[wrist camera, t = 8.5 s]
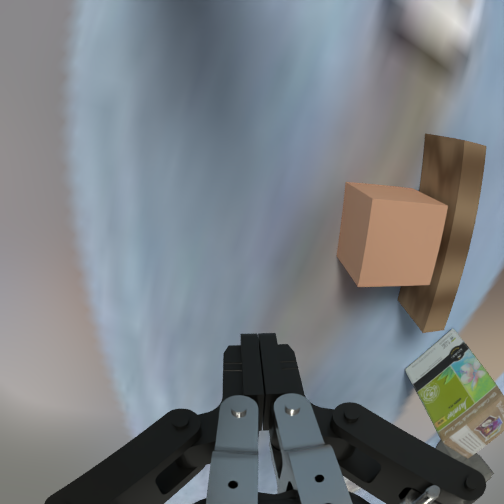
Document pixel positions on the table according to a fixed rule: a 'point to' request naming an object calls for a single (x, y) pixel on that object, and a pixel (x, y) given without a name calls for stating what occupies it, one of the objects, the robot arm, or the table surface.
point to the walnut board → (447, 225)
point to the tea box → (458, 395)
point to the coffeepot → (467, 460)
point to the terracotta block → (389, 235)
